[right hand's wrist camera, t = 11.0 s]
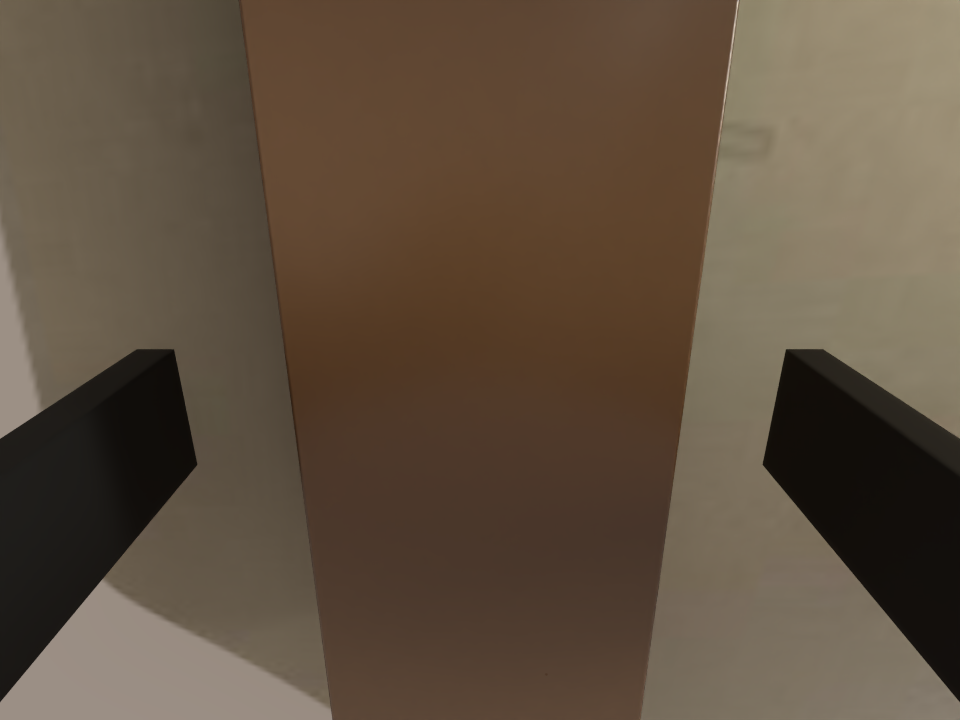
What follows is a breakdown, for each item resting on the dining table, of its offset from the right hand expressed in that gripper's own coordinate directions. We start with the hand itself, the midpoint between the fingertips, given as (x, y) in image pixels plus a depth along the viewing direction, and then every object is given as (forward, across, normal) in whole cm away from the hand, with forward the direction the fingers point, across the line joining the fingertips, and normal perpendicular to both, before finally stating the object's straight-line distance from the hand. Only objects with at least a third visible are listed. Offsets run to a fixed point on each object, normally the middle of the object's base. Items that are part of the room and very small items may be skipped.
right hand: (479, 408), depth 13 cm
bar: (+4, 0, -20) cm, 21 cm away
